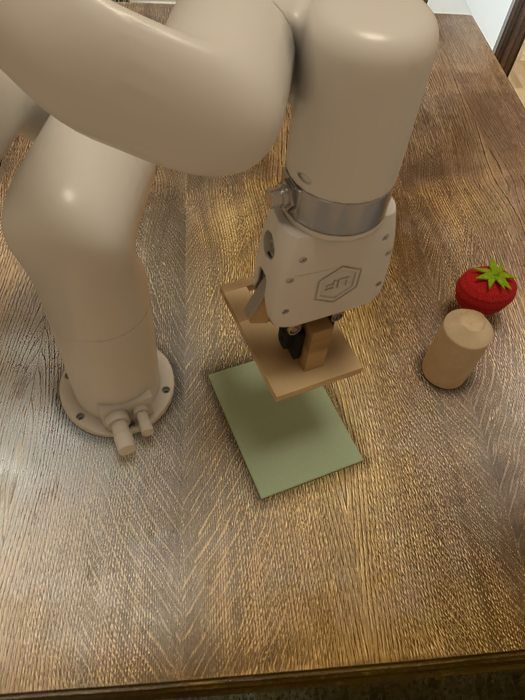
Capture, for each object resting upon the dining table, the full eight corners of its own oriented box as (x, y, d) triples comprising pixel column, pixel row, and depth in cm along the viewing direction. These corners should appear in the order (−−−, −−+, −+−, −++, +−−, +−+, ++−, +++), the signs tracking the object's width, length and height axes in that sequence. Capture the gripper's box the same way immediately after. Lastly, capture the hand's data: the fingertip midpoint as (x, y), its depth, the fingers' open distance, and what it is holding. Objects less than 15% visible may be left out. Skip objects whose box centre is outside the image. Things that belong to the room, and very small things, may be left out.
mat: (362, 461, 66) (363, 459, 65) (261, 500, 62) (261, 498, 62) (301, 347, 74) (301, 345, 73) (207, 376, 70) (207, 374, 70)
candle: (456, 397, 71) (488, 349, 63) (414, 375, 72) (440, 325, 64) (472, 365, 74) (505, 315, 66) (431, 344, 75) (459, 292, 67)
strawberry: (436, 299, 80) (462, 245, 71) (490, 297, 81) (522, 243, 72) (449, 335, 76) (477, 283, 68) (505, 333, 77) (540, 281, 69)
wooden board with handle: (219, 291, 62) (220, 242, 56) (298, 269, 65) (307, 220, 59) (275, 402, 55) (283, 359, 49) (361, 373, 58) (378, 329, 52)
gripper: (251, 254, 38) (239, 401, 53) (462, 198, 42) (395, 349, 57) (209, 178, 41) (209, 336, 56) (406, 134, 46) (357, 291, 61)
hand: (303, 341), depth 57 cm, fingers closed on wooden board with handle
